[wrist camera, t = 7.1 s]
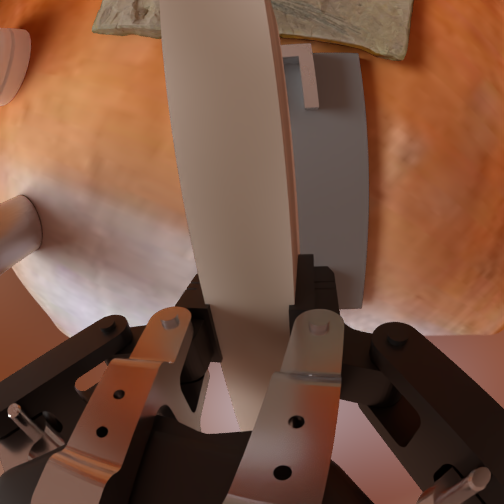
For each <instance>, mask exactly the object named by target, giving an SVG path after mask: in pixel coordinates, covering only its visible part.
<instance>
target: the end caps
mask: <svg viewBox="0 0 504 504" xmlns="http://www.w3.org/2000/svg"><path fill="white" fill-rule="evenodd" d="M281 51H282V58H283V65H284V66H286V65H299V67H300V75H301V82H302V91H303V99H304V108H305V110H317V109H318V108H319V101H318V92H317V84H316V76H315V68H314V61H313V54H312V48H311V43H307V44H290V45H281Z"/></svg>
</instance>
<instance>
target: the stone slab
mask: <svg viewBox="0 0 504 504" xmlns="http://www.w3.org/2000/svg"><path fill="white" fill-rule="evenodd" d="M270 1H271V4H272V8H273V11H274V14H275V17H276V21H277V25H278V31H279V37H282V38H296V39H304V40H314V41H320V42H326V43H332V44H338V45H344V46H349V47H354V48H358V49H361V50H364V51H366V52H369V53H370V54H372V55H374V56H376V57H380V58H384V59H389V60H393V61H400V60H404V57H405V55H406V52H407V47H408V41H409V34H410V23H411V16H412V12H413V2H414V0H270ZM92 32H93V33H98V34H106V35H121V36H125V35H129V34H135V35H140V36H145V37H151V38H156V39H162V36H161V21H160V3H159V0H103V1H102V4H101V8H100V10H99V11H98V13H97V16H96V19H95V21H94V24H93V27H92Z"/></svg>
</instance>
